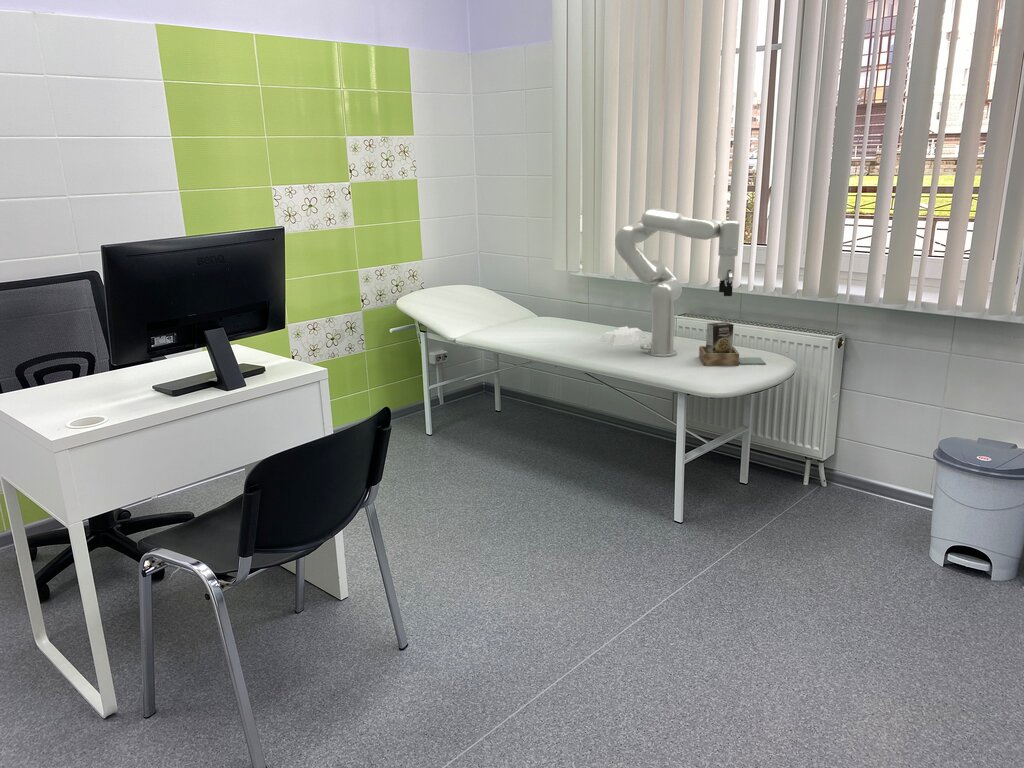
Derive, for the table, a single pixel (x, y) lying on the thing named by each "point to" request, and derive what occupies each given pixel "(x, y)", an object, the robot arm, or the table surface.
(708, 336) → the coffee box
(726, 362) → the holder
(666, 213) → the robot arm
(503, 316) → the table surface
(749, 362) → the mat
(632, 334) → the paper sheets
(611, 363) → the table surface
